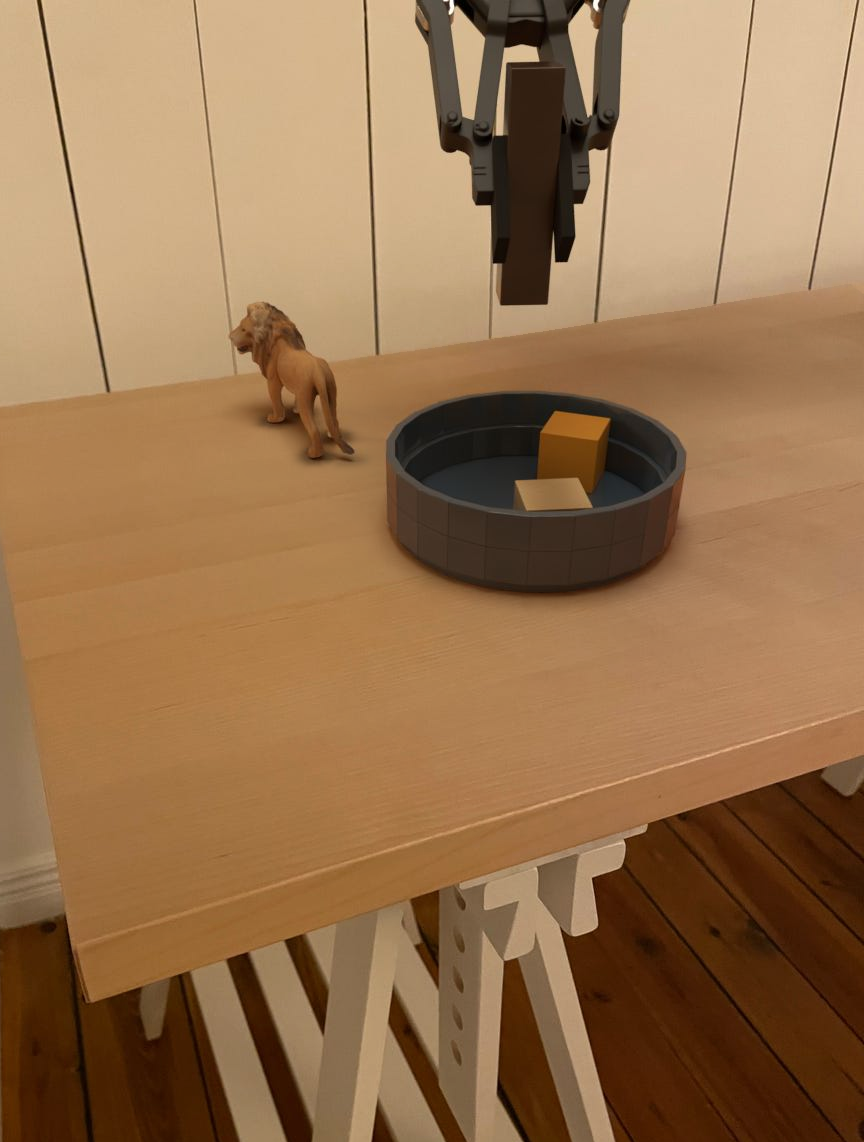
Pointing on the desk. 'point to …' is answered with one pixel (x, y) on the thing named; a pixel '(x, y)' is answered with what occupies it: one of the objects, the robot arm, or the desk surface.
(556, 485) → the block maple
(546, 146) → the dark brown bar
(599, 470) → the block mustard
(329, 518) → the desk surface
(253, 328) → the lion figurine
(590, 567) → the bowl
